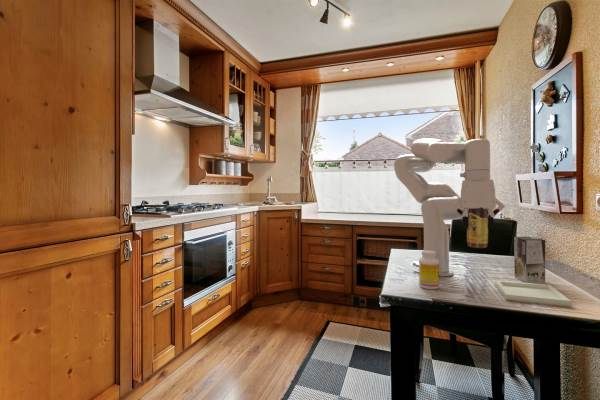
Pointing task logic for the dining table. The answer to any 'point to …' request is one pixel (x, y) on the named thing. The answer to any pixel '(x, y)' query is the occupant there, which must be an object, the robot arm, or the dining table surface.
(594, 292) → the dining table surface
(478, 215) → the sauce bottle
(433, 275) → the supplement bottle
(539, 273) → the coffee box
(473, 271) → the dining table surface
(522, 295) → the tray
